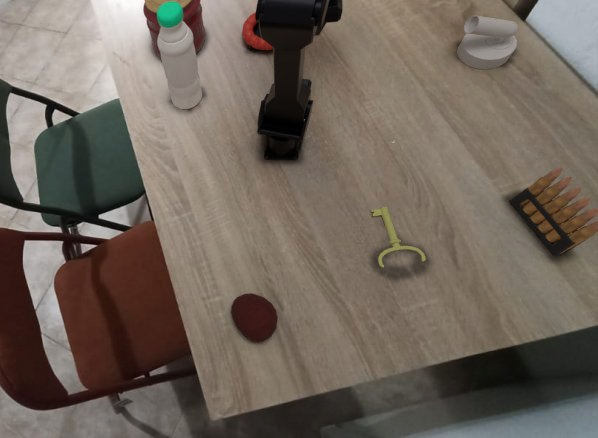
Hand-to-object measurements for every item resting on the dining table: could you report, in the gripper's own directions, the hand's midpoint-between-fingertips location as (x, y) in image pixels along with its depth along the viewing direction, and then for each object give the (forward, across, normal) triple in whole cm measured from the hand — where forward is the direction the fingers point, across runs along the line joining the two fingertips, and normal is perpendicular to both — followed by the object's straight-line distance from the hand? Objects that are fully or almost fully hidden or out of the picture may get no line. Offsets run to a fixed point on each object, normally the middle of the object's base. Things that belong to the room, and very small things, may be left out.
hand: (316, 17), depth 86 cm
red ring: (+10, +8, +9) cm, 16 cm away
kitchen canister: (+12, +8, +30) cm, 33 cm away
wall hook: (+12, 0, -31) cm, 33 cm away
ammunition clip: (+12, -37, -35) cm, 52 cm away
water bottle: (+12, -9, +26) cm, 30 cm away
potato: (+12, -58, +8) cm, 60 cm away
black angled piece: (+12, +8, +9) cm, 17 cm away
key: (+12, -42, -14) cm, 46 cm away
